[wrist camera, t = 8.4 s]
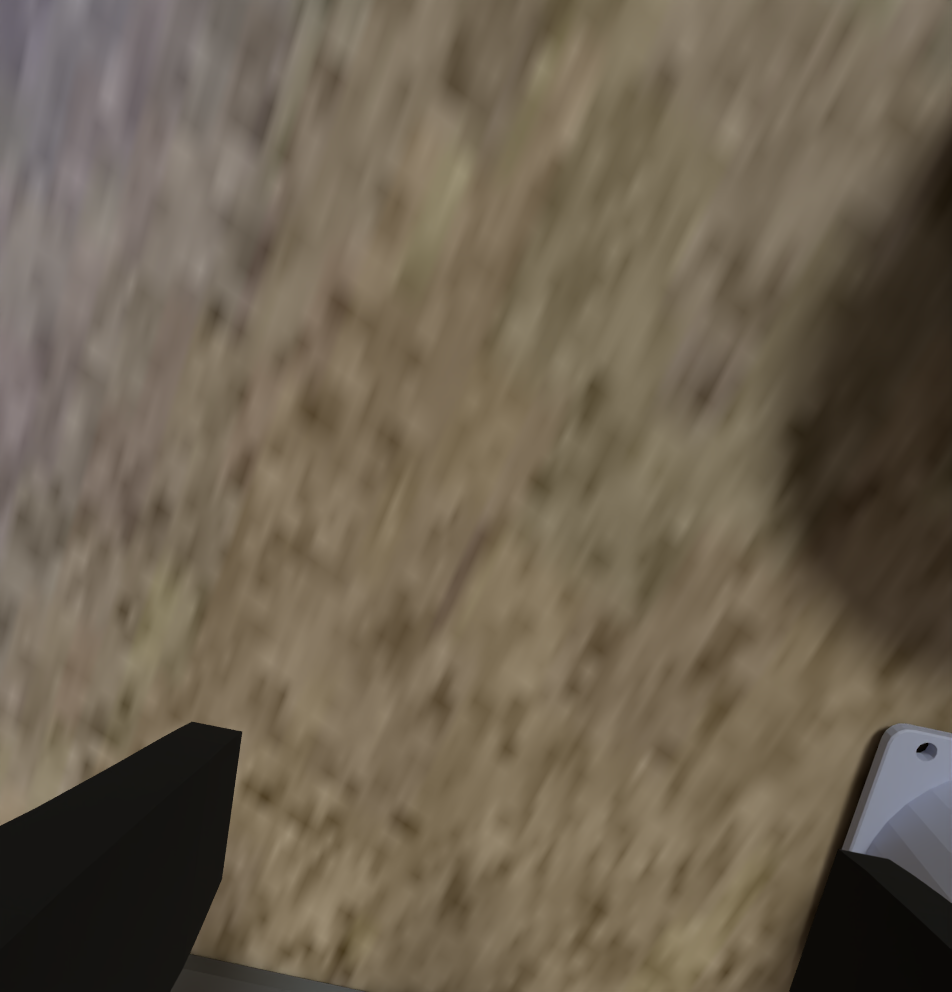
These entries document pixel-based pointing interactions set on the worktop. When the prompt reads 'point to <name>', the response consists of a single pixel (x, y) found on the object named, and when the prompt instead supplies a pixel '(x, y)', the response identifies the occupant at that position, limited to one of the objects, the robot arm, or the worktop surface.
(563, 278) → the worktop surface
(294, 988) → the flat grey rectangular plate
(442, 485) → the worktop surface
